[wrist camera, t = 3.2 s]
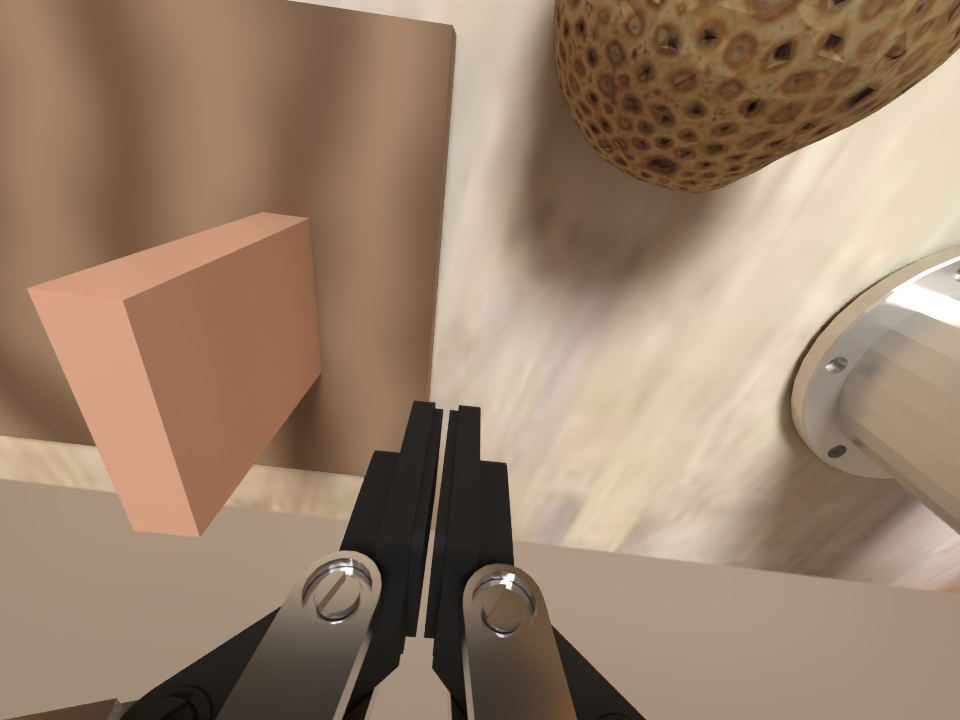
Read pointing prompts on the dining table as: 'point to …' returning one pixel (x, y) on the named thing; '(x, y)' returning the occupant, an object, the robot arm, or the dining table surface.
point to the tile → (188, 361)
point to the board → (230, 185)
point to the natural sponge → (736, 76)
